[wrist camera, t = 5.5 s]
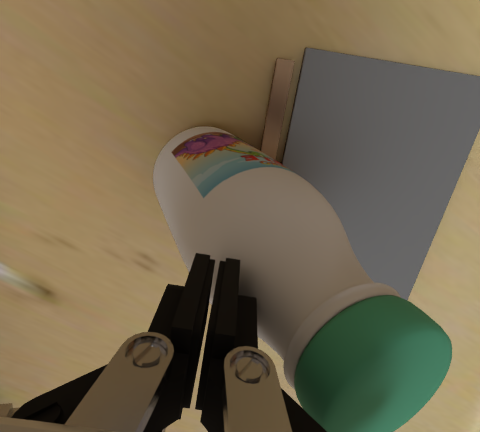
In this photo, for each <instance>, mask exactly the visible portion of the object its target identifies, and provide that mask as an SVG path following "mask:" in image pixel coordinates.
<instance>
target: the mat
mask: <svg viewBox="0 0 480 432" xmlns="http://www.w3.org/2000/svg"><path fill="white" fill-rule="evenodd" d="M479 129H480V76H474V75H468V74H462V73H456V72H450V71H444V70H438V69H432V68H426V67H420V66H414V65H408V64H402V63H396V62H390V61H384V60H378V59H372V58H366V57H360V56H354V55H348V54H342V53H336V52H330V51H324V50H318V49H312V48H305V52H304V57H303V62H302V67H301V71H300V76H299V81H298V86H297V91H296V96H295V101H294V106H293V111H292V116H291V121H290V126H289V130H288V135H287V140H286V145H285V150H284V155H283V160H282V165H284V166H286V167H287V168H289V169H290V170H292V171H293V172H295V173H296V174H297V175H299V176H300V177H302V178H303V179H305V180H306V181H307V182H309V183H310V184H311V185H312V186H313V187H314V188H315V189H316V190H318V191H319V192H320V193H321V194H322V195H323V196H324V198H325V199H326V200H327V201H328V203H329V204H330V205H331V206H332V208H333V209H334V211H335V213H336V214H337V216H338V218H339V219H340V221H341V223H342V226H343V228H344V230H345V232H346V235H347V238H348V240H349V243H350V245H351V248H352V250H353V252H354V254H355V256H356V258H357V260H358V261H359V263H360V265H361V266H362V268H363V269H364V271H365V272H366V274H367V275H368V276H369V277H370V279H371V280H372V281H373V282H374V283H382V284H386V285H388V286H390V287H392V288H394V289H395V290H396V291H397V292H398V293H399V295H400V297H401V298H403V299H405V300H408V297H409V295H410V293H411V290H412V288H413V286H414V283H415V281H416V278H417V276H418V274H419V271H420V269H421V267H422V264H423V262H424V259H425V257H426V255H427V252H428V250H429V248H430V245H431V243H432V240H433V238H434V236H435V233H436V231H437V229H438V226H439V224H440V221H441V219H442V217H443V214H444V212H445V210H446V207H447V205H448V203H449V200H450V198H451V195H452V193H453V191H454V188H455V186H456V184H457V181H458V179H459V176H460V174H461V172H462V169H463V167H464V165H465V162H466V160H467V157H468V155H469V153H470V150H471V148H472V146H473V143H474V141H475V138H476V136H477V134H478V131H479Z"/></svg>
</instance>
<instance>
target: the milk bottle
mask: <svg viewBox="0 0 480 432" xmlns="http://www.w3.org/2000/svg"><path fill="white" fill-rule="evenodd" d="M153 184H154V189H155V193H156V196H157V199H158V201H159V204H160V206H161V209H162V211H163V213H164V216H165V218H166V221H167V223H168V226H169V228H170V230H171V233H172V235H173V238H174V240H175V242H176V245H177V247H178V249H179V251H180V254H181V256H182V258H183V261H184V263H185V265H186V267H187V269H188V271H189V272H190V269H191V266H192V263H193V260H194V257H195V254H196V253H200V254H207V255H210V259H214V260H215V266H214V273H213V279H212V286H211V293H210V299H209V302H210V303H211V304H212V302H213V296H214V291H215V285H216V280H217V274H218V269H219V263H220V261H226V258H232V259H238V260H240V275H239V291H238V295H243V296H249V297H256V299H257V336H258V337H259V338H260V339H262V340H263V341H264V342H266V343H267V344H268V345H269V346H270V347H271V348H272V349H274V350H275V351H276V352H277V353H278V354H279V355H280V356H281V358H282V359H283V360H284V374H285V377H286V380H287V382H288V383H289V385H290V386H291V387H292V388H293V389H295V391H296V395H297V398H298V400H299V402H300V404H301V406H302V408H303V409H304V410H305V411H306V412H307V413H308V414H309V415H310V416H311V417H312V418H313V419H314V420H315V421H316V422H317V423H318V424H320V425H321V426H322V427H323V428H324V429H325V430H326V431H327V432H393V431H395V430H396V429H398V428H399V427H401V426H402V425H403V424H405V423H406V422H407V421H408V420H410V419H411V418H412V417H413V416H414V415H415V414H416V413H417V412H418V411H419V410H420V409H421V408H422V407H423V406H424V405H425V404H426V403H427V402H428V401H429V400H430V398H431V397H432V396H433V395H434V393H435V392H436V391H437V389H438V388H439V386H440V385H441V383H442V381H443V380H444V378H445V376H446V374H447V372H448V369H449V366H450V363H451V358H452V344H451V341H450V339H449V337H448V335H447V334H446V333H445V332H444V330H443V329H442V328H441V326H439V325H438V324H437V323H436V322H435V321H434V320H432V319H431V318H430V317H429V316H428V315H427V314H425V313H424V312H423V311H422V310H420V309H419V308H418V307H416V306H415V305H413V304H412V303H411V302H409V301H407V300H405V299H403V298H401V297H400V295H399V293H398V292H397V291H396V290H395V289H394V288H392V287H390V286H388V285H386V284H382V283H374V282H373V281H372V280H371V279H370V277H369V276H368V275H367V274H366V272H365V271H364V269H363V268H362V266H361V265H360V263H359V261H358V260H357V258H356V256H355V254H354V252H353V250H352V248H351V245H350V243H349V240H348V238H347V235H346V232H345V230H344V228H343V226H342V223H341V221H340V219H339V218H338V216H337V214H336V213H335V211H334V209H333V208H332V206H331V205H330V204H329V203H328V201H327V200H326V199H325V198H324V196H323V195H322V194H321V193H320V192H319V191H318V190H316V189H315V188H314V187H313V186H312V185H311V184H310V183H309V182H307V181H306V180H305V179H303V178H302V177H300V176H299V175H297V174H296V173H295V172H293V171H292V170H290V169H289V168H287V167H286V166H284V165H282V164H281V163H279V162H278V161H276V160H274V159H273V158H271V157H269V156H268V155H266V154H265V153H263V152H261V151H260V150H258V149H256V148H255V147H253V146H251V145H249V144H248V143H246V142H244V141H243V140H241V139H239V138H238V137H236V136H234V135H232V134H231V133H229V132H226V131H224V130H222V129H219V128H215V127H208V126H201V127H194V128H190V129H187V130H185V131H183V132H181V133H179V134H177V135H176V136H174V137H173V138H172V139H171V140H170V141H168V143H167V144H166V145H165V146H164V147H163V149H162V150H161V152H160V153H159V155H158V157H157V160H156V162H155V166H154V171H153Z"/></svg>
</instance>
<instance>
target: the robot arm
mask: <svg viewBox="0 0 480 432" xmlns="http://www.w3.org/2000/svg"><path fill="white" fill-rule="evenodd" d="M214 266H215V260H214V259H210V255H207V254H200V253H196V254H195V257H194V260H193V263H192V266H191V269H190V272H189V275H188V278H187V281H186V284H185V287H184V286H178V285H171V284H168V285H167V287H166V289H165V292H164V294H163V297H162V299H161V301H160V304H159V306H158V309H157V311H156V313H155V316H154V318H153V320H152V323H151V325H150V328H149V330H148V332H142V333H139V334H135V335H133V336H132V337H130V338H128V339H127V340H126V341H125V342H124V343H123V344H122V345H121V347H120V348H119V349H118V351H117V352H116V354H115V355H114V356H113V358H112V359H111V361H110V362H109V363H108V364H107V365H105V366H103V367H101V368H99V369H96V370H94V371H92V372H90V373H88V374H86V375H83V376H81V377H79V378H77V379H75V380H73V381H70V382H68V383H66V384H64V385H62V386H60V387H57V388H55V389H53V390H51V391H49V392H47V393H44V394H42V395H40V396H38V397H36V398H34V399H32V400H30V401H29V402H27V403H25V404H24V405H23V406H21V407H20V408H13V405H12V403H9V404H0V432H165V430H166V427H167V426H169V425H170V424H172V423H173V422H175V421H176V420H178V419H181V414H182V409H183V408H190V404H191V398H192V393H193V388H194V383H195V378H196V372H197V367H198V362H199V357H200V351H201V346H202V341H203V336H204V331H205V325H206V319H207V313H208V306H209V299H210V293H211V286H212V279H213V273H214ZM239 275H240V260H238V259H232V258H226V261H220V263H219V269H218V274H217V280H216V285H215V291H214V296H213V302H212V307H211V313H210V318H209V324H208V330H207V336H206V342H205V349H204V355H203V362H202V368H201V375H200V381H199V388H198V394H197V401H196V407H195V409H197V410H202V415H201V421H200V422H201V423H202V424H203V425H204V427H205V428H206V429H207V431H208V432H327V431H326V430H325V429H324V428H323V427H322V426H321V425H320V424H318V423H317V422H316V421H315V420H314V419H313V418H312V417H311V416H310V415H309V414H308V413H307V412H306V411H305V410H304V409H303V408H302V407H300V406H299V405H298V404H297V403H296V402H295V401H294V400H293V399H292V398H291V397H290V396H289V395H288V394H287V393H286V392H285V391H284V390H282V389H281V387H280V383H279V379H278V375H277V372H276V368H275V365H274V363H273V361H272V359H271V358H270V357H269V356H268V355H267V354H266V353H264V352H263V351H262V350H259V349H258V337H257V299H256V297H249V296H243V295H238V291H239Z"/></svg>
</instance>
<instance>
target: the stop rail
mask: <svg viewBox="0 0 480 432" xmlns="http://www.w3.org/2000/svg"><path fill="white" fill-rule="evenodd" d="M294 62H295V61H292V60H286V59H280V58H277V59H276V64H275V70H274V76H273V82H272V87H271V93H270V99H269V104H268V110H267V116H266V121H265V127H264V133H263V139H262V144H261V150H260V151H261V152H263V153H265V154H266V155H268V156H269V157H271V158H273V159H274V160H275V159H276V154H277V149H278V144H279V139H280V134H281V128H282V123H283V118H284V113H285V108H286V103H287V98H288V92H289V87H290V82H291V77H292V72H293V67H294Z"/></svg>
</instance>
